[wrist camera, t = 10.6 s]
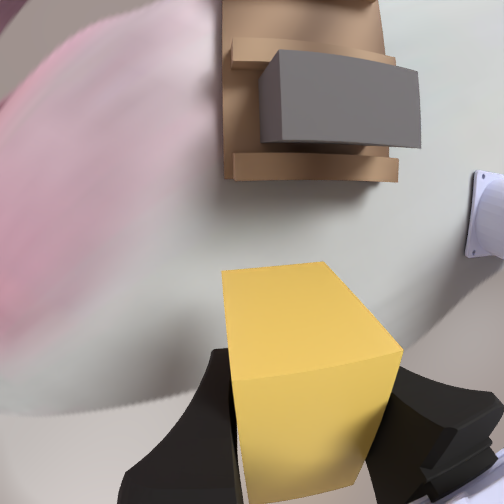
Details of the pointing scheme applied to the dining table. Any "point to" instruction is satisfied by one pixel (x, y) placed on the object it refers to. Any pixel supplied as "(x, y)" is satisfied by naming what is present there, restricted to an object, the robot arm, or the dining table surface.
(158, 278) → the dining table surface
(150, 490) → the robot arm
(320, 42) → the comb rack
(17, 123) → the dining table surface
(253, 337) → the ochre bar
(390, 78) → the charcoal bar
